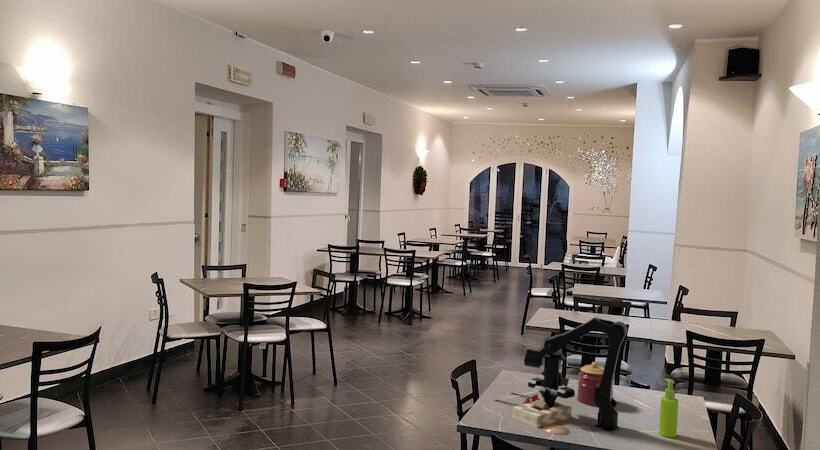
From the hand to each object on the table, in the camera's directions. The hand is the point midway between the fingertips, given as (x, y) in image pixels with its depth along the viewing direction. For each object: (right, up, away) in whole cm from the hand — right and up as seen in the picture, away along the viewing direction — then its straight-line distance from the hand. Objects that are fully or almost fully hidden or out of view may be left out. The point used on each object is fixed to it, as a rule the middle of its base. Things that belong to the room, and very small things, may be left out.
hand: (549, 409), depth 247 cm
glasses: (-11, -3, +15) cm, 19 cm away
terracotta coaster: (-1, -4, -15) cm, 15 cm away
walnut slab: (-3, 0, -3) cm, 4 cm away
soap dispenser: (+40, -5, -13) cm, 43 cm away
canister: (+22, -3, +20) cm, 30 cm away
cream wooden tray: (-4, -3, -3) cm, 5 cm away
